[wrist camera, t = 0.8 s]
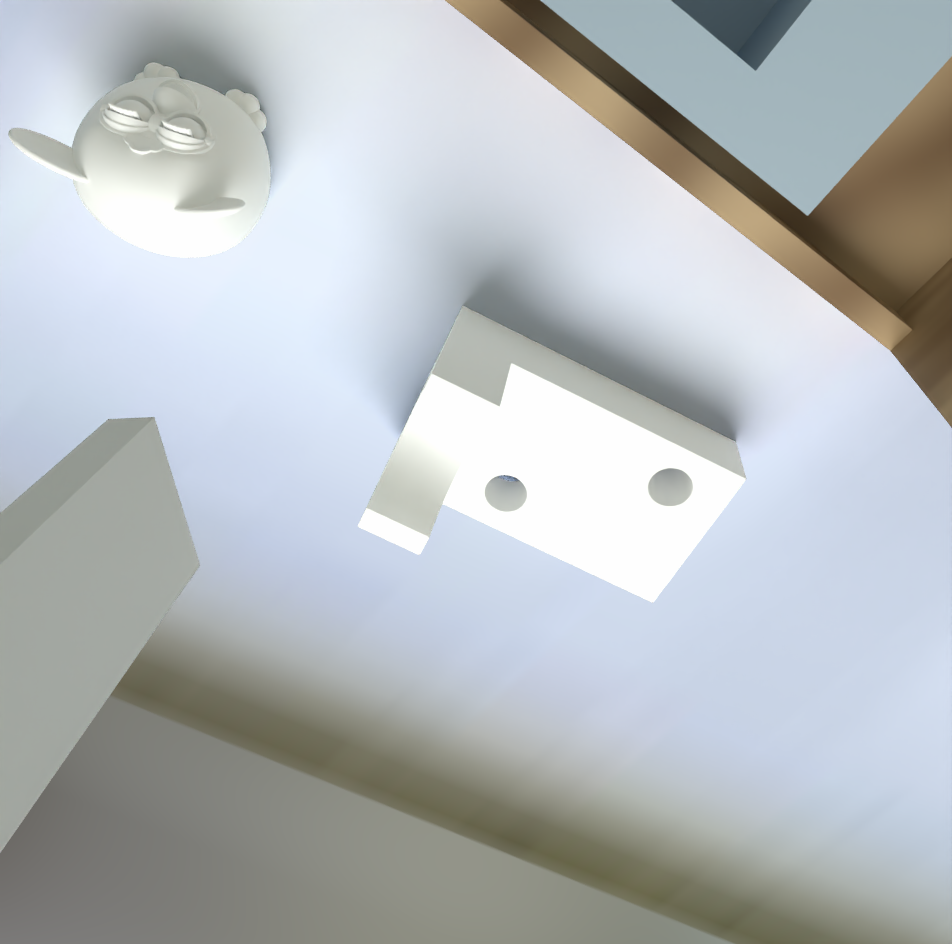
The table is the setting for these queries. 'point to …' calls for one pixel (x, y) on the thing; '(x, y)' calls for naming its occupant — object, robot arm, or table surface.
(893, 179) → the tray
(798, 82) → the block
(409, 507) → the bracket
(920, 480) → the table surface
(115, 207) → the figurine
